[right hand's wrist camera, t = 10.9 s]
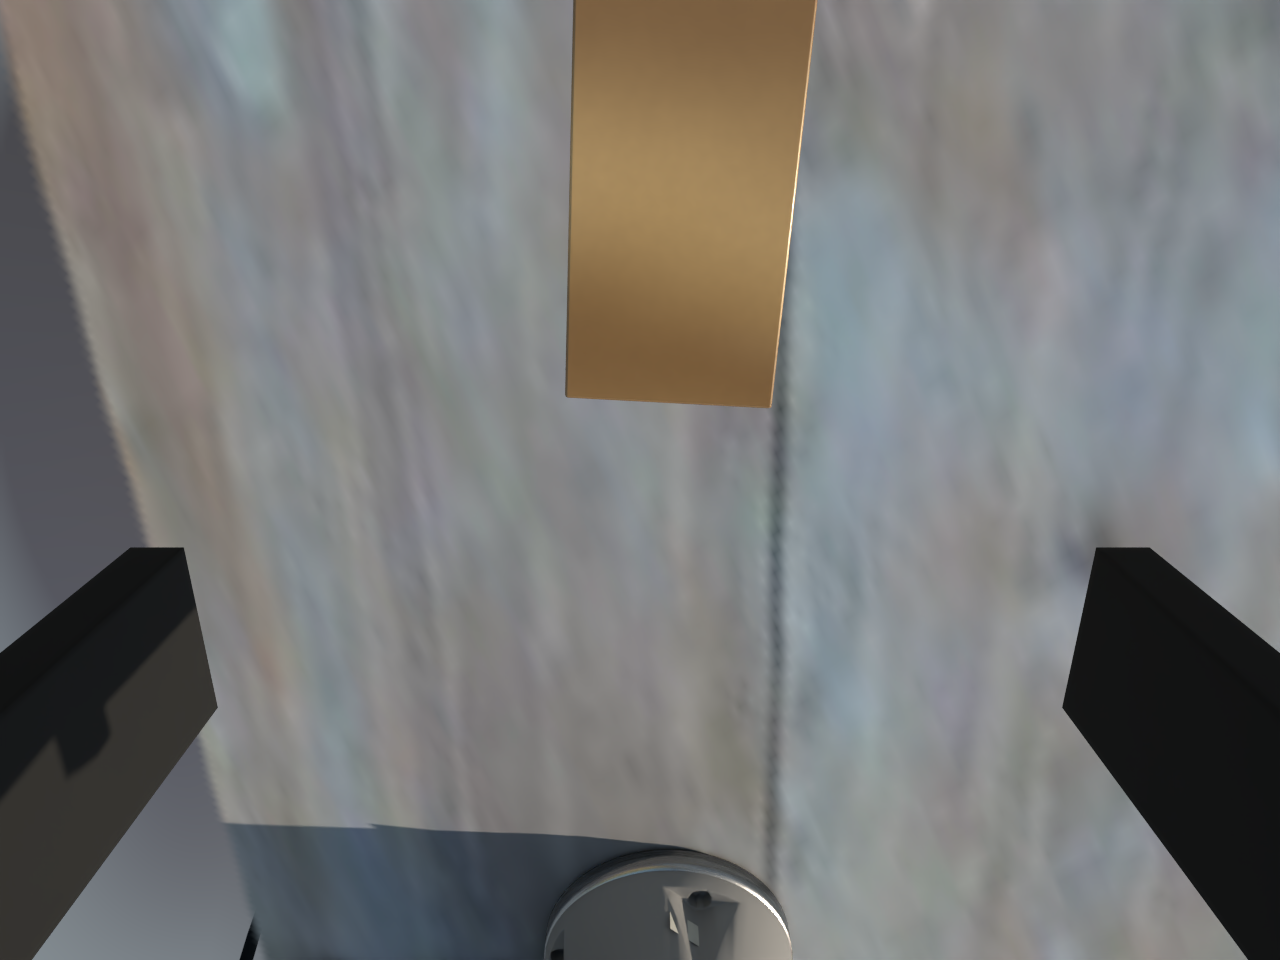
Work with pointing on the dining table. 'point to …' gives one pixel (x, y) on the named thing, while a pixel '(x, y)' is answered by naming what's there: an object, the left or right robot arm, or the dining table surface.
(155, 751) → the right robot arm
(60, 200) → the dining table surface
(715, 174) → the bar
